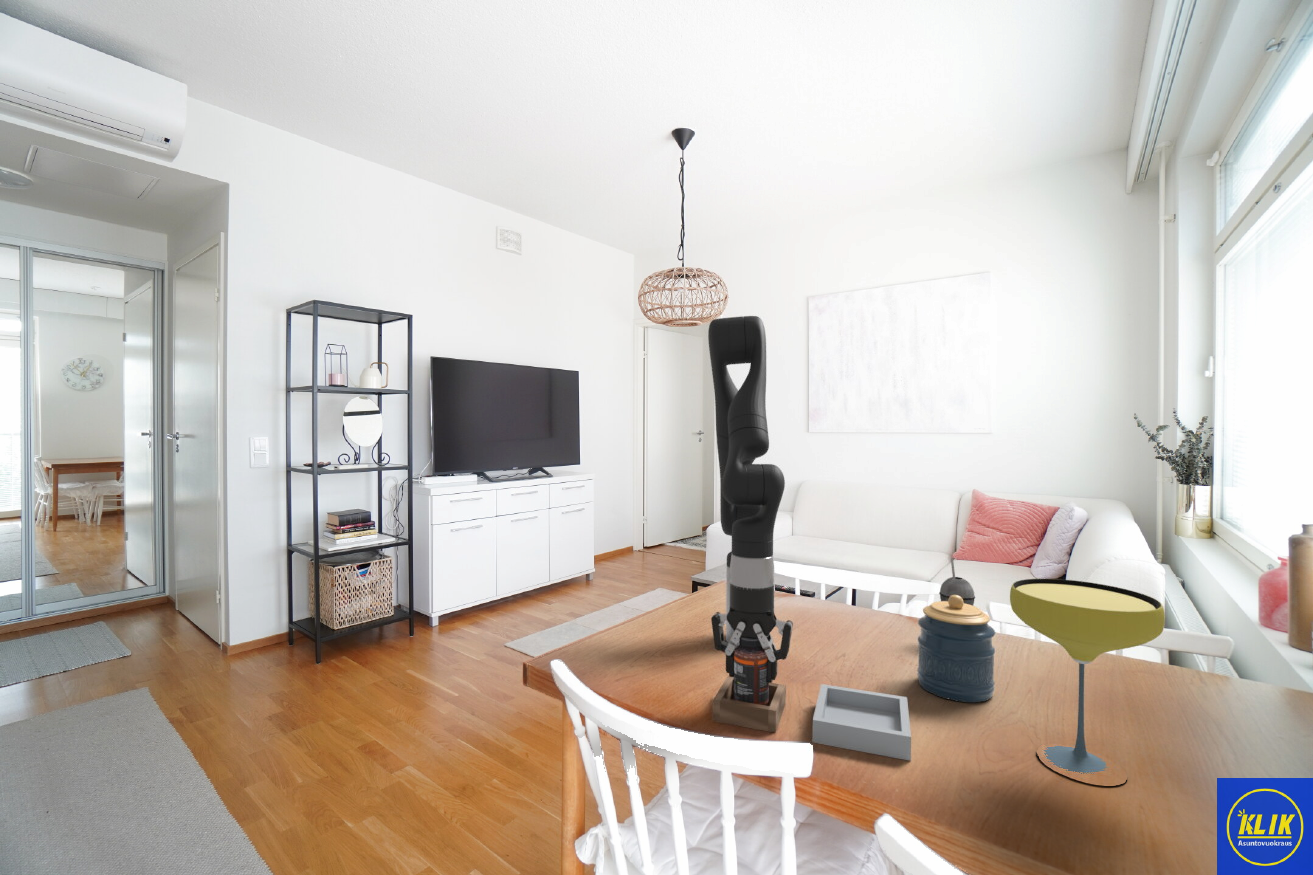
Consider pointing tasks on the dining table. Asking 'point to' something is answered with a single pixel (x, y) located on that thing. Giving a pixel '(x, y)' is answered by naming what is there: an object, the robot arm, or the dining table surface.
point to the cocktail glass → (1085, 635)
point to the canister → (956, 651)
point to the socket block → (749, 708)
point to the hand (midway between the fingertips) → (751, 677)
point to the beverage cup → (957, 588)
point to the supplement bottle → (750, 672)
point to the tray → (863, 721)
